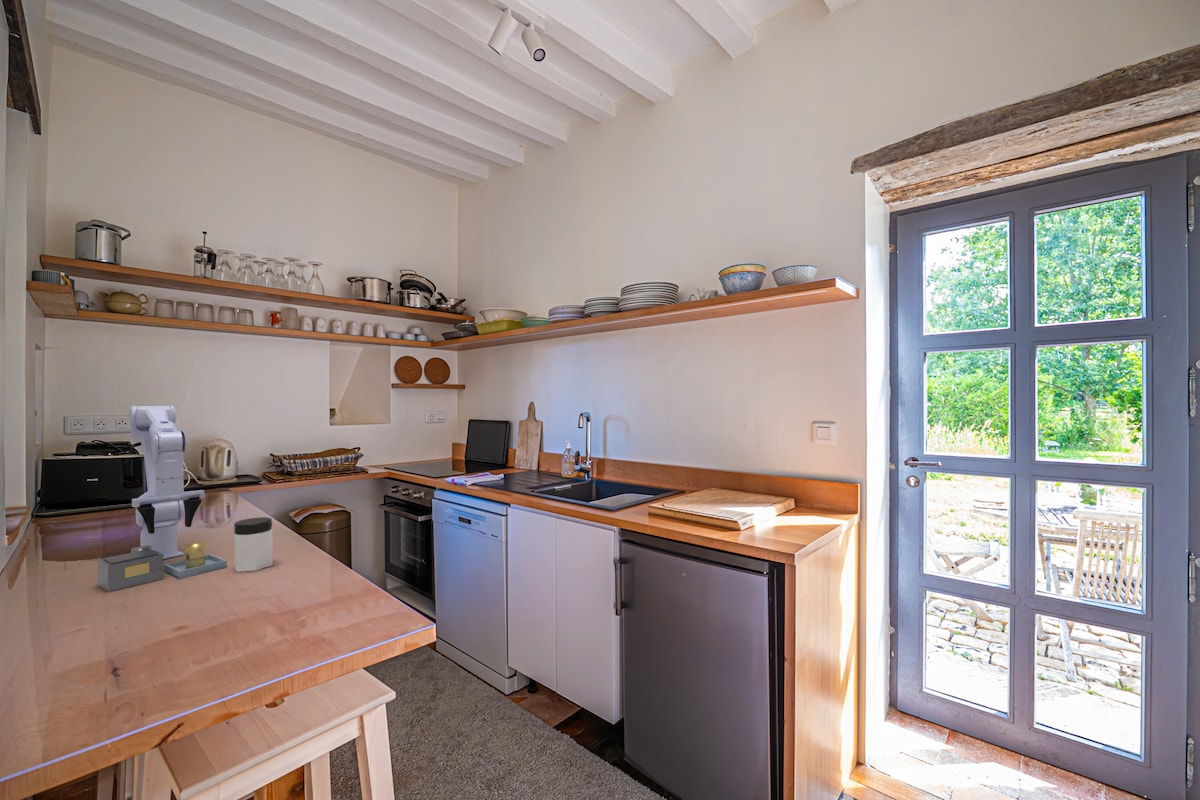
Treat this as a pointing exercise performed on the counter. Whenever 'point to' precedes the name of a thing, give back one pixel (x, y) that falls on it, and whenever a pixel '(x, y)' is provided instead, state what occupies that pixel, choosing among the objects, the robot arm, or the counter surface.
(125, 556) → the unit
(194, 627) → the counter surface
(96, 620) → the counter surface
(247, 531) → the jar
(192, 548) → the part brass
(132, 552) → the part grey
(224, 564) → the tray
